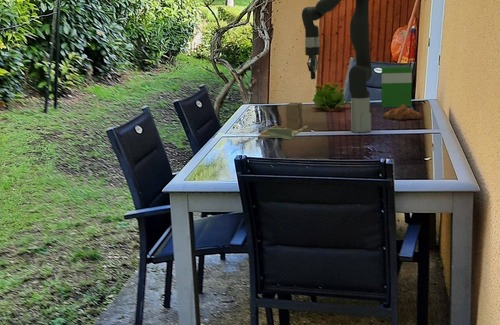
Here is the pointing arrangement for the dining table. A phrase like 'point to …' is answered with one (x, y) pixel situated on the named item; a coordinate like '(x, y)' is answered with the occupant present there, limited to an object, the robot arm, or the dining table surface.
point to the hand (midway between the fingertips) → (313, 79)
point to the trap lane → (280, 132)
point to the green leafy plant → (329, 97)
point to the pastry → (402, 113)
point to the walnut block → (294, 116)
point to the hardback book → (396, 86)
